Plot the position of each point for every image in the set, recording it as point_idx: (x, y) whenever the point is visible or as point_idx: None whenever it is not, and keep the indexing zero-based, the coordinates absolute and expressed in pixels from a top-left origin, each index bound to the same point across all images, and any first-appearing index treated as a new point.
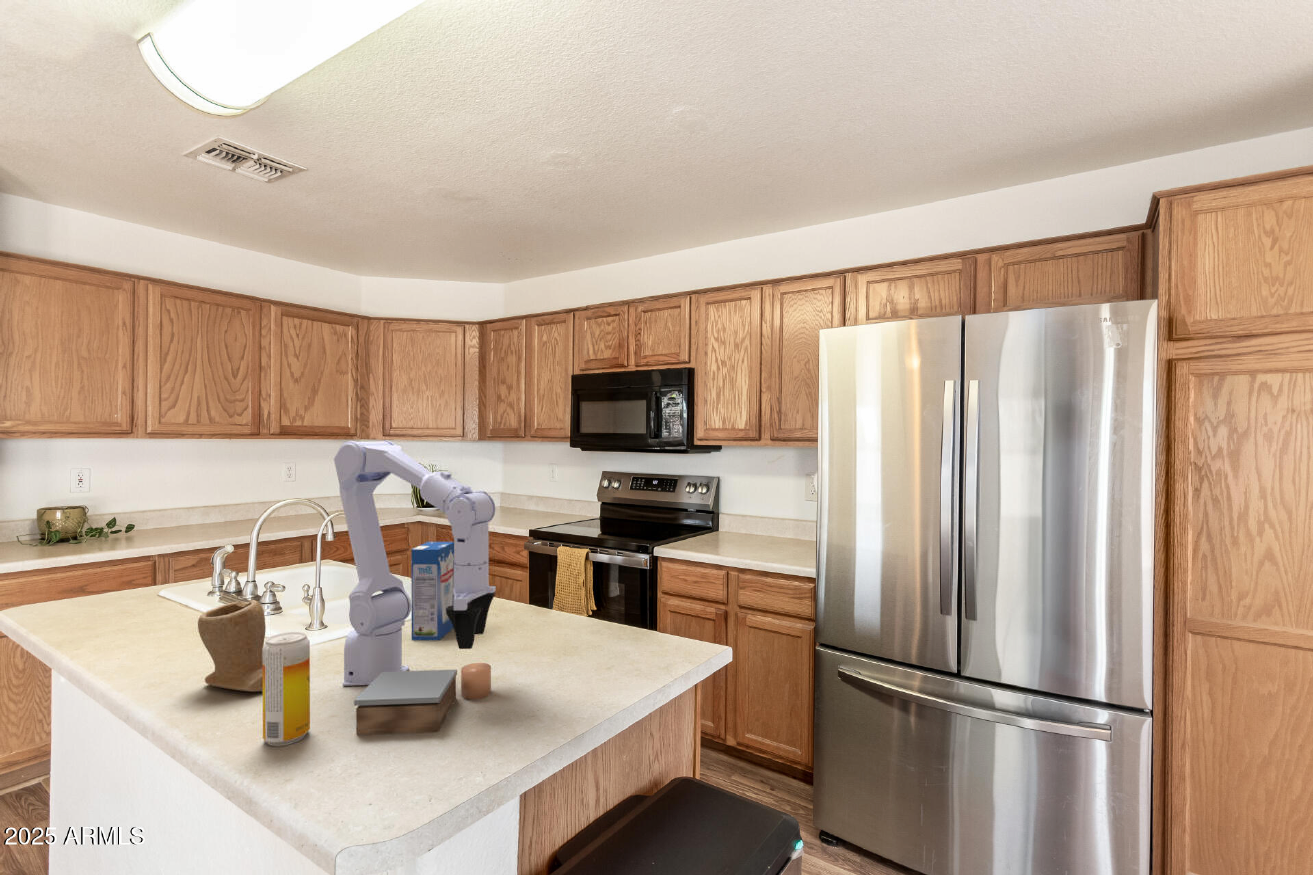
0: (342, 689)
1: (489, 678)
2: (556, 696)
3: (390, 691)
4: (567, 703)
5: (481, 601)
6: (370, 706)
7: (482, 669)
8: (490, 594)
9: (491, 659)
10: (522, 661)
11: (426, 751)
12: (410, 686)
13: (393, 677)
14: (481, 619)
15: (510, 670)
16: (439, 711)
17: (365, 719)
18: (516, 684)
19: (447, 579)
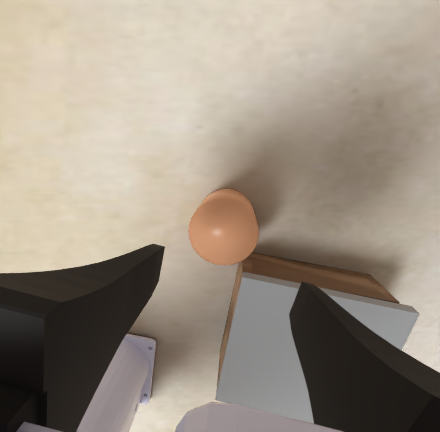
0: (159, 397)
1: (238, 197)
2: (295, 39)
3: None
4: (346, 12)
5: (85, 345)
6: None
7: (237, 219)
8: (47, 334)
9: (47, 184)
10: (63, 114)
11: (435, 288)
12: None
13: (254, 383)
14: (139, 277)
15: (116, 145)
16: (378, 290)
17: None
18: (199, 134)
19: None
